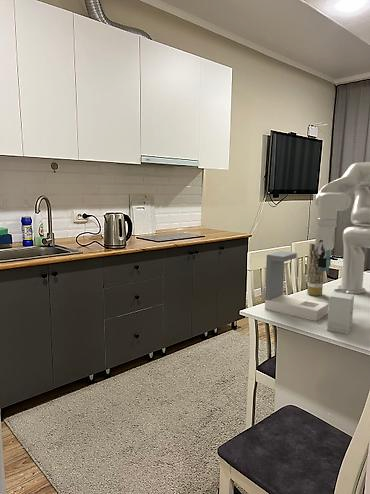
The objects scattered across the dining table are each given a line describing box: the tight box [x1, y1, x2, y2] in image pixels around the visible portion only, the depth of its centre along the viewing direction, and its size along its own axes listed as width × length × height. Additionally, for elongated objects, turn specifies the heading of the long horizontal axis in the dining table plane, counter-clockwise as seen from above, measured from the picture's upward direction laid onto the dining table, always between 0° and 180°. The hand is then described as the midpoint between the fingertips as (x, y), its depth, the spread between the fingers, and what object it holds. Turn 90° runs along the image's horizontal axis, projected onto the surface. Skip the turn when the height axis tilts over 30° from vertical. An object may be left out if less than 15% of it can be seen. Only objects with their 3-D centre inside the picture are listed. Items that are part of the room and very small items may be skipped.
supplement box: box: [326, 291, 355, 335], centre depth 132 cm, size 7×7×13 cm
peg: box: [319, 249, 331, 272], centre depth 157 cm, size 4×4×10 cm
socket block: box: [264, 250, 329, 322], centre depth 151 cm, size 12×22×23 cm, turn 49°
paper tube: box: [306, 240, 325, 297], centre depth 176 cm, size 7×7×25 cm
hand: (324, 266), depth 157 cm, fingers closed on peg, 4 cm apart
